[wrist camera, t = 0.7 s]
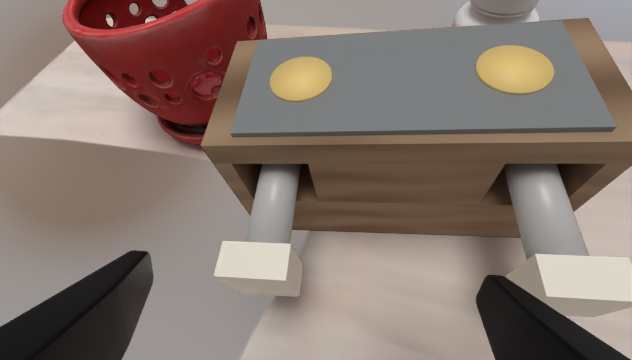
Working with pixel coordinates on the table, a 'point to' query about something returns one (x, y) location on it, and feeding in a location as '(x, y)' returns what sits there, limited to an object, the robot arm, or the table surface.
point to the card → (422, 84)
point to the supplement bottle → (496, 12)
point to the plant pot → (166, 52)
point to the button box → (423, 161)
